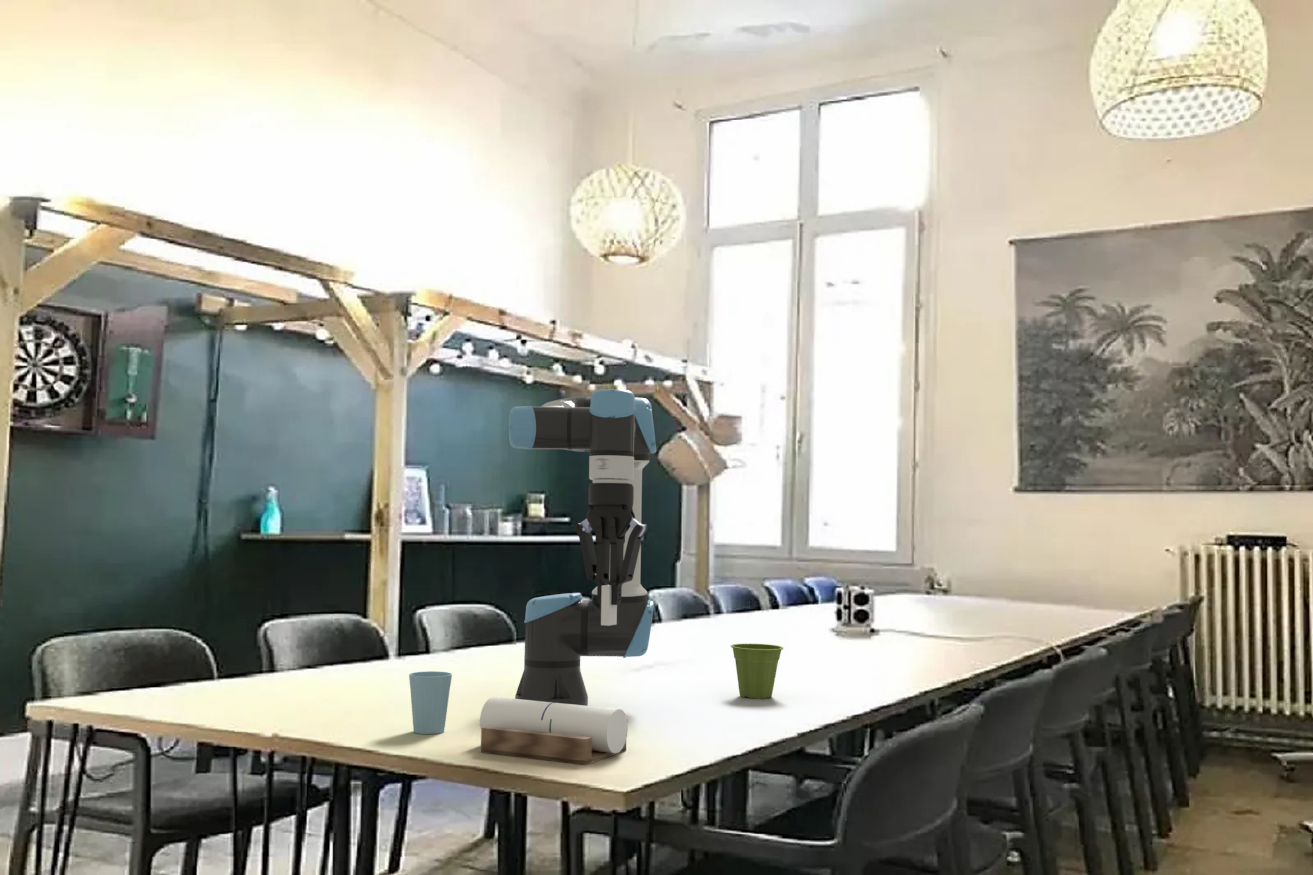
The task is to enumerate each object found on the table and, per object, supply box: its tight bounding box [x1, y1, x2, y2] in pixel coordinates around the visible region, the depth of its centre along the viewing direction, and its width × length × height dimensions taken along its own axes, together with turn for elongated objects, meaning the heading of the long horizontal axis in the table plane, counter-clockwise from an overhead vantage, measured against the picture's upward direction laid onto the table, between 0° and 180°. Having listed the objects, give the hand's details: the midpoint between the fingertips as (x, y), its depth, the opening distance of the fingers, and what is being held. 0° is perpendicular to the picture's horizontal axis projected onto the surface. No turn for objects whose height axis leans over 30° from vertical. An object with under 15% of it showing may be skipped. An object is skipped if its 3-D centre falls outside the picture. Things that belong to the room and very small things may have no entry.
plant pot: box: [730, 643, 784, 700], centre depth 265 cm, size 12×12×11 cm
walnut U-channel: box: [480, 726, 627, 766], centre depth 199 cm, size 20×14×4 cm
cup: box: [408, 670, 453, 735], centre depth 215 cm, size 8×8×10 cm
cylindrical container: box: [479, 696, 629, 754], centre depth 201 cm, size 7×7×25 cm
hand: (608, 624), depth 196 cm, fingers closed
